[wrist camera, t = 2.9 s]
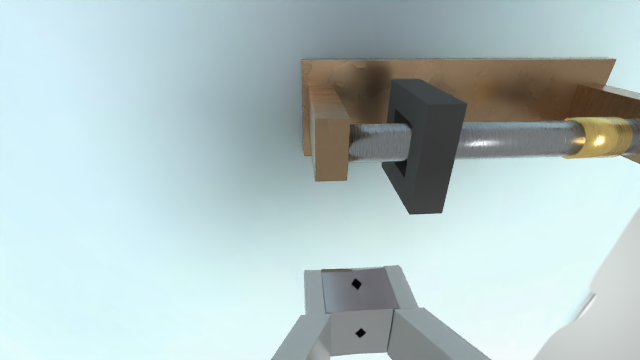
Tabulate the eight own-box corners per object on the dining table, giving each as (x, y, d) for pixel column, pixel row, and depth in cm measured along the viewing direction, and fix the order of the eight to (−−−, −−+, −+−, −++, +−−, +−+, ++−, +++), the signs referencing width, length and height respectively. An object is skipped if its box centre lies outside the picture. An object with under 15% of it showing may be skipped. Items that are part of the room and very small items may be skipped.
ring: (381, 166, 24) (409, 214, 18) (391, 79, 21) (428, 104, 15) (406, 165, 24) (441, 213, 19) (420, 78, 21) (467, 103, 15)
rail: (303, 152, 28) (307, 209, 20) (301, 59, 24) (305, 83, 16) (570, 145, 30) (674, 195, 22) (607, 57, 26) (750, 78, 18)
